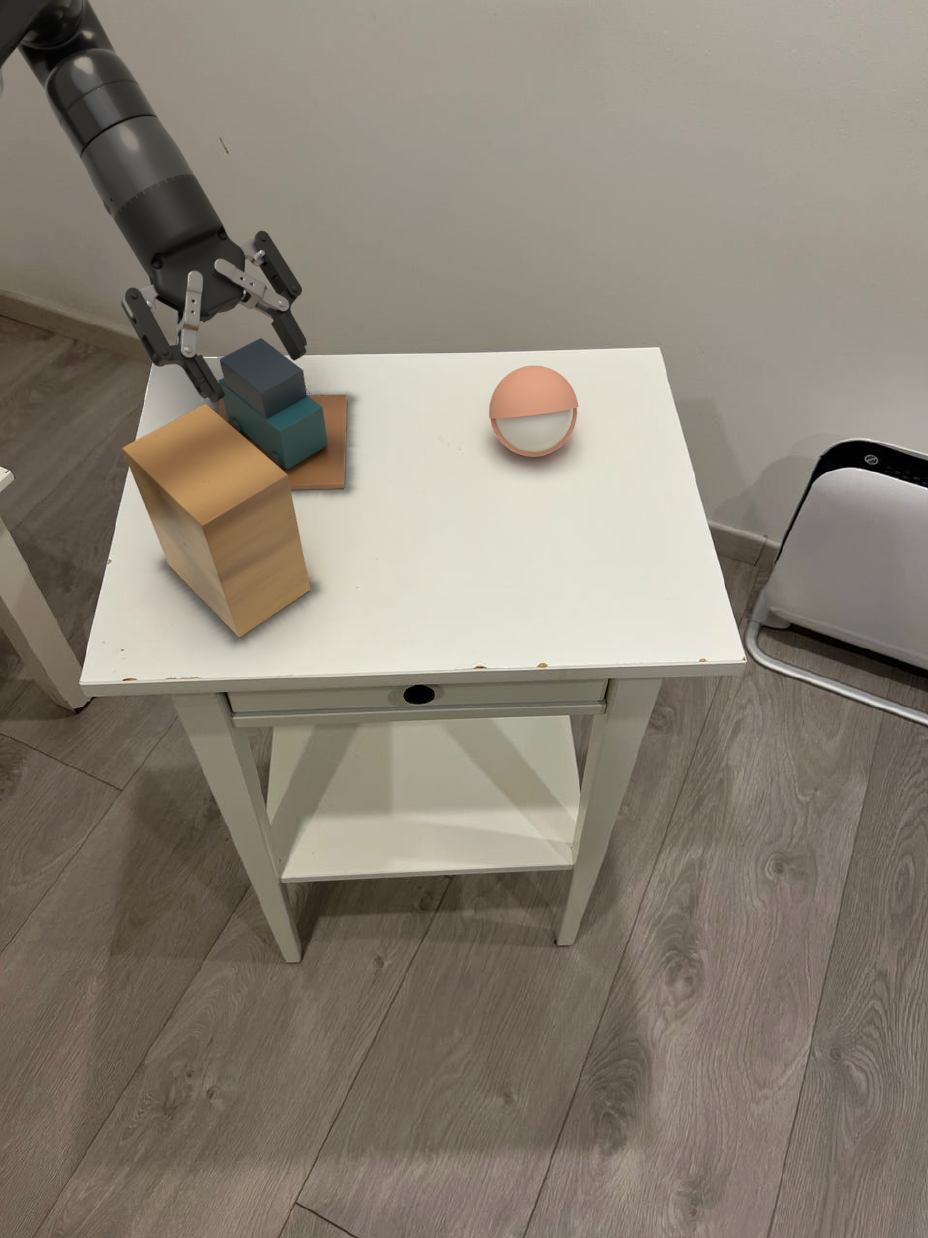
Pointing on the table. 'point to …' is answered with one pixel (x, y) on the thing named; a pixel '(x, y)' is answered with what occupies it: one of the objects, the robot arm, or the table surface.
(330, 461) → the mat
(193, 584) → the wooden block
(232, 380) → the toy van
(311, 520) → the table surface
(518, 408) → the toy ball
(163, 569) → the table surface
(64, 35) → the robot arm
